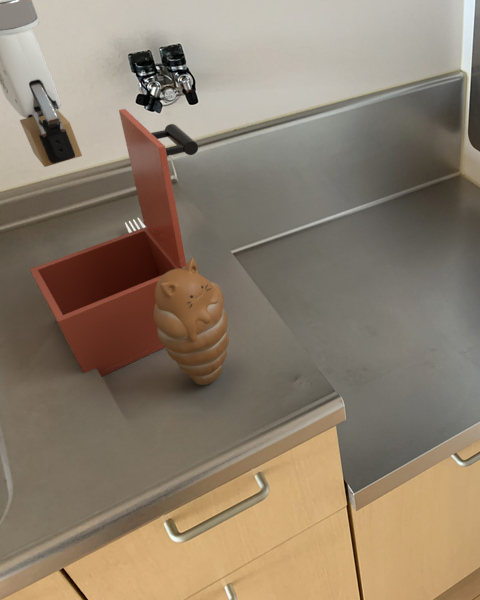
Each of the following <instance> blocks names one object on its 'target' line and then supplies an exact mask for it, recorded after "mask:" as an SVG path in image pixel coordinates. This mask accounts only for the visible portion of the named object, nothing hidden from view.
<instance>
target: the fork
mask: <svg viewBox="0 0 480 600" xmlns="http://www.w3.org/2000/svg"><path fill="white" fill-rule="evenodd" d="M137 220H138V223H139V225H138V223H137V221H136V220H135V219H132V221H133V223H132V222H131V220H128V223H129V225H130V226H129V225H128V223H127V222H126V221H125V222H124V225H125V227H126V230H127V233H131V232H133V231H136V230H139V229H142V228H145V227H146V226H145V225H144V222H143V220H141V219H140V218H139V217H137ZM134 225H135V226H134ZM130 227H131V228H130ZM135 227H136V228H135ZM140 227H141V228H140Z"/></svg>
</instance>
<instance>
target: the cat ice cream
mask: <svg viewBox="0 0 480 600" xmlns="http://www.w3.org/2000/svg"><path fill="white" fill-rule="evenodd" d="M155 300H156V303H155V306H154V321H155V323H156V325H157V334H158V338H159V340H160V342H161V343H162V344H163V345H164V346H165V351H166V353H167V355H168V356H169V357H170V359H171V360H173V362H176V364H177V366H178V367H179V369H180V370H181V372H183V373H184V374H186V375H189V377H190V379H191V380H192V381H193V382H194V383H195V384H197V385H200V386H206V385H209V384H212V383H214V382H215V381H216V380H217V379H218V378H219V377H220V376H221V374H222V372H223V364H224V363H225V361H226V359H227V356H228V349H227V348H228V346H229V342H230V337H229V335H230V334H229V333H228V331H227V330H228V314H227V312H226V310H225V308H224V303H225V299H224V294H223V291H222V288H221V286H219V284H217V283H216V282H213V281H210V280H209V279H208V278H207V277H204V276H203V275H202V274H200V273H199V270H198V265H197V262H196V260H195V258H194V257H191V258H190V259H189V261H188V262H186V266H185V267H183V268H179V269H173V270H171V271H168V272H167V273H165V274H164V275H163V276H162V277H161V278H160V279H159V280H158V282H157V285H156V288H155Z"/></svg>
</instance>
